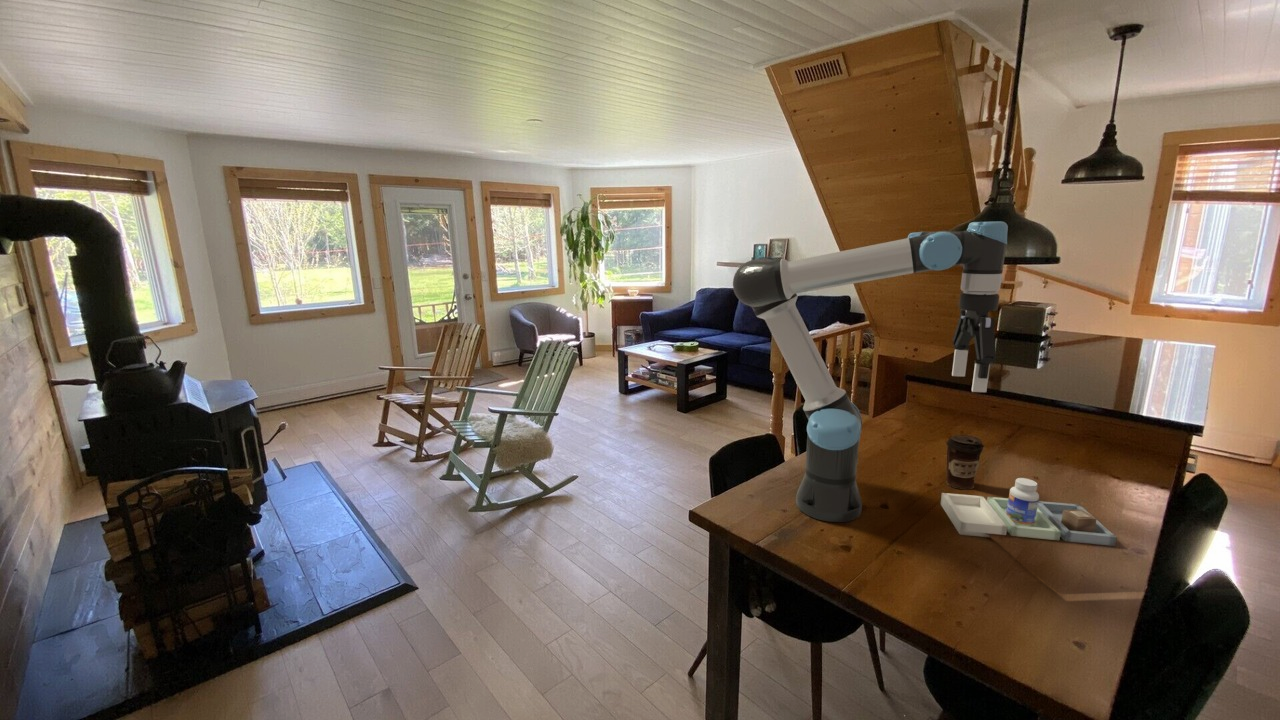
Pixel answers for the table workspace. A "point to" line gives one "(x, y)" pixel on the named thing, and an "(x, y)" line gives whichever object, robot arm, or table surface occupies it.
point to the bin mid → (1039, 530)
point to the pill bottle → (1023, 502)
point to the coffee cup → (962, 460)
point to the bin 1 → (972, 515)
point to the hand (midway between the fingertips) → (968, 383)
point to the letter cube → (1078, 520)
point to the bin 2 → (1098, 537)
